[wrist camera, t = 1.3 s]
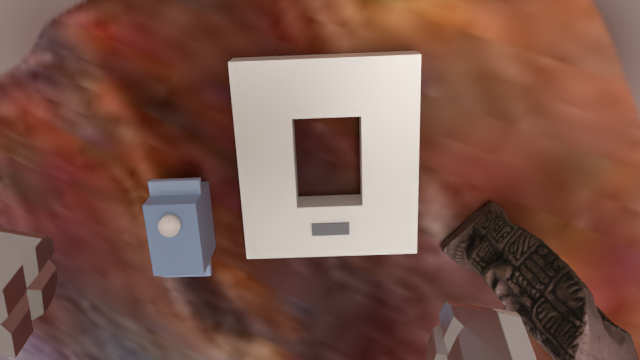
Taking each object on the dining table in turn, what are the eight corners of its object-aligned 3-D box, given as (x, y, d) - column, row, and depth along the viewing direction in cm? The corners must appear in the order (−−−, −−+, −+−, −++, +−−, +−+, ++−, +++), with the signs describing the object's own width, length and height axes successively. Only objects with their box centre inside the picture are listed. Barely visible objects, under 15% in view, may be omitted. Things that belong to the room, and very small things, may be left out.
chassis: (412, 240, 47) (417, 254, 44) (250, 245, 47) (246, 260, 44) (415, 50, 41) (421, 54, 39) (233, 57, 41) (227, 62, 39)
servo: (217, 258, 47) (203, 293, 42) (172, 259, 47) (152, 295, 42) (207, 167, 45) (191, 192, 39) (159, 169, 45) (136, 194, 39)
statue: (436, 246, 47) (512, 419, 28) (492, 183, 45) (615, 325, 26) (495, 287, 48) (606, 479, 29) (551, 228, 46) (710, 393, 27)
